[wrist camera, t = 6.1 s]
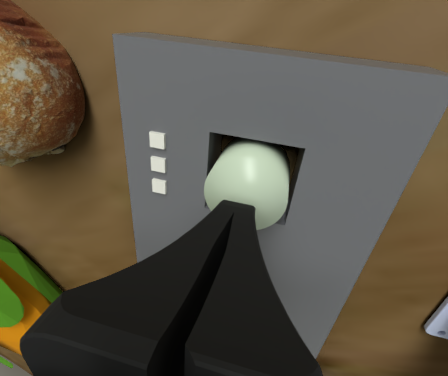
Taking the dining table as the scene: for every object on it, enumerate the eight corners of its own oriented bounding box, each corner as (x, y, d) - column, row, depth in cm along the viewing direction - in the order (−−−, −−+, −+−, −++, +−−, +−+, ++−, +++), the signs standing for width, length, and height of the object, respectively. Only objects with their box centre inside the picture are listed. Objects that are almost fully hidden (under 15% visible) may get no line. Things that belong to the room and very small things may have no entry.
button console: (429, 66, 12) (464, 79, 10) (288, 379, 28) (286, 416, 26) (144, 32, 15) (109, 34, 12) (161, 341, 31) (148, 371, 28)
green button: (297, 141, 14) (297, 167, 12) (282, 205, 16) (278, 238, 14) (222, 128, 15) (206, 150, 12) (216, 191, 17) (201, 220, 14)
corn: (-129, 257, 19) (71, 410, 26) (-18, 196, 25) (120, 333, 32) (-146, 272, 22) (33, 403, 29) (-46, 216, 29) (83, 335, 35)
